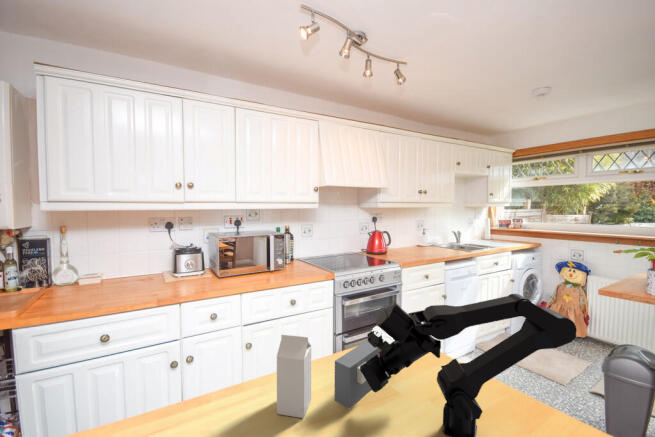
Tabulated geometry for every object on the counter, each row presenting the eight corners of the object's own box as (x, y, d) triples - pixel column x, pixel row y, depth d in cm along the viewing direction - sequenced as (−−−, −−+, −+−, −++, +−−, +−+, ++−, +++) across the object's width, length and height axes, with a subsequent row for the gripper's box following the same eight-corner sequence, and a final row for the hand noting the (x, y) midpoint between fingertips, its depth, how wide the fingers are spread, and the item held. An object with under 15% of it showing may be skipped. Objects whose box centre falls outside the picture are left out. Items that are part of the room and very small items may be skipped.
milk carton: (303, 419, 72) (304, 343, 71) (276, 414, 73) (276, 340, 72) (311, 399, 79) (311, 331, 78) (286, 396, 80) (286, 328, 79)
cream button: (369, 377, 80) (370, 363, 79) (361, 384, 77) (361, 369, 76) (364, 374, 81) (364, 361, 80) (355, 381, 78) (356, 367, 77)
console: (391, 372, 92) (392, 338, 91) (349, 409, 75) (349, 367, 74) (377, 366, 95) (378, 333, 94) (334, 400, 78) (334, 360, 78)
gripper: (404, 308, 80) (369, 335, 87) (367, 331, 66) (329, 361, 73) (432, 346, 75) (392, 371, 83) (399, 379, 61) (355, 405, 69)
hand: (368, 375), depth 77 cm, fingers closed
